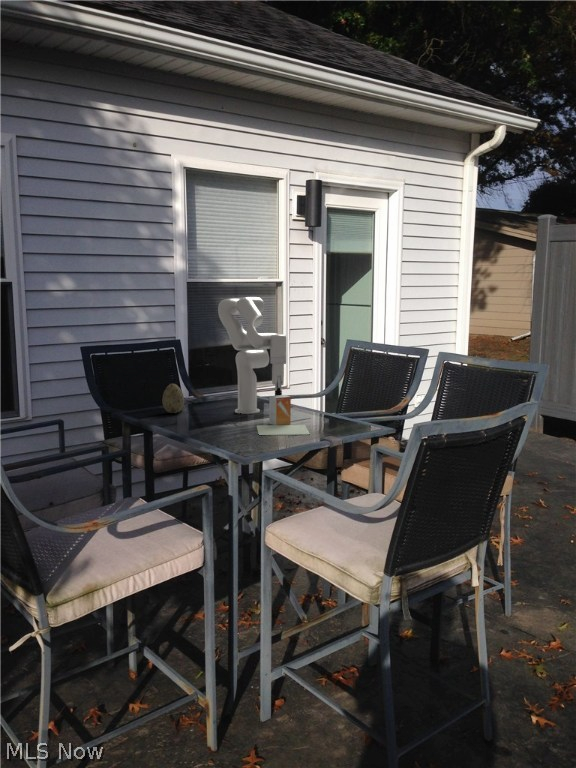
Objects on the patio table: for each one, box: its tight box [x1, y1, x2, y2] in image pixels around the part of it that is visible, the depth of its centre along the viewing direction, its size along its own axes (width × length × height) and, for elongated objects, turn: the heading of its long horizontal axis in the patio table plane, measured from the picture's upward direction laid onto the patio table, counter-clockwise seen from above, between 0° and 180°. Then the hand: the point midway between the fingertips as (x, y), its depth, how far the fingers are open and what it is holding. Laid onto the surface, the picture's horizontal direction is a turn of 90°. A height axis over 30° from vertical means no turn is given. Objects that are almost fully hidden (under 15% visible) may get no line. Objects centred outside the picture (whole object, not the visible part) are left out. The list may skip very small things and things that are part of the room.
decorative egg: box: [161, 383, 185, 414], centre depth 339 cm, size 11×11×15 cm
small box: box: [268, 394, 292, 425], centre depth 313 cm, size 8×6×13 cm
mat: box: [256, 424, 311, 436], centre depth 299 cm, size 20×22×1 cm
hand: (278, 398), depth 322 cm, fingers closed
